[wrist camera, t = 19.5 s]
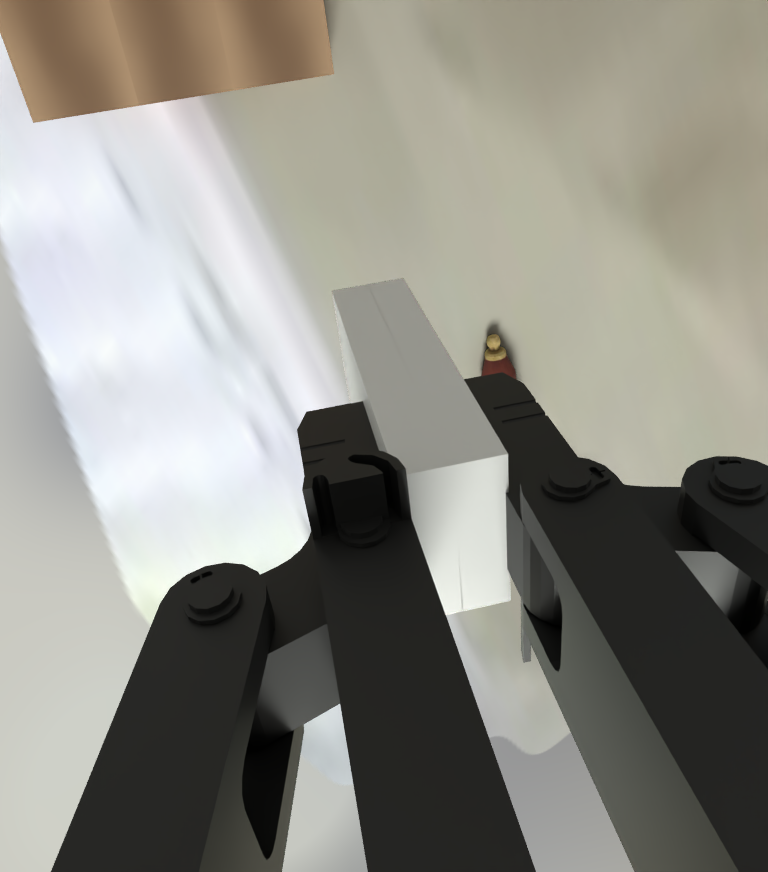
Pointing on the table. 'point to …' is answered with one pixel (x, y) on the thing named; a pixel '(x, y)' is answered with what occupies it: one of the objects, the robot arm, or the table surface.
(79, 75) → the board
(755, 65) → the table surface
